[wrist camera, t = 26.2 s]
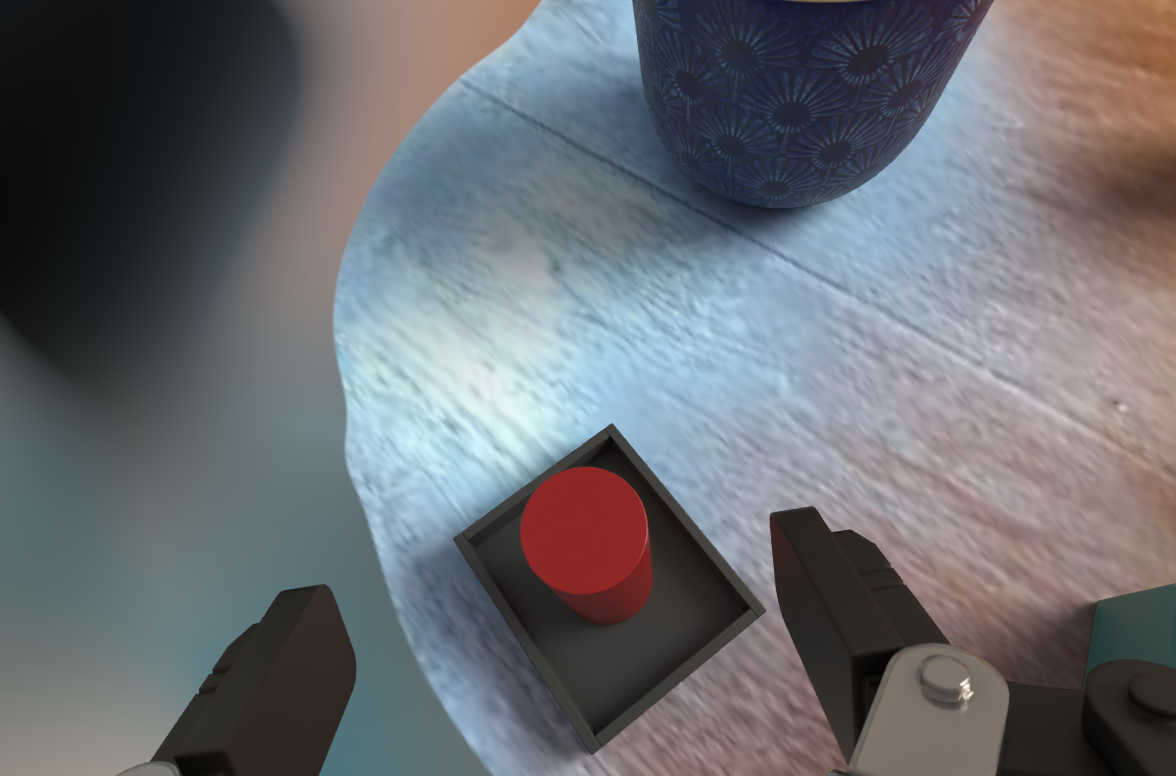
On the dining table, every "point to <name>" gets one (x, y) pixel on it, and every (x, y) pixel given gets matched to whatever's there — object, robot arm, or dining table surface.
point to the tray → (631, 648)
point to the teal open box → (1135, 628)
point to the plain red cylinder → (590, 543)
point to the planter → (795, 88)
